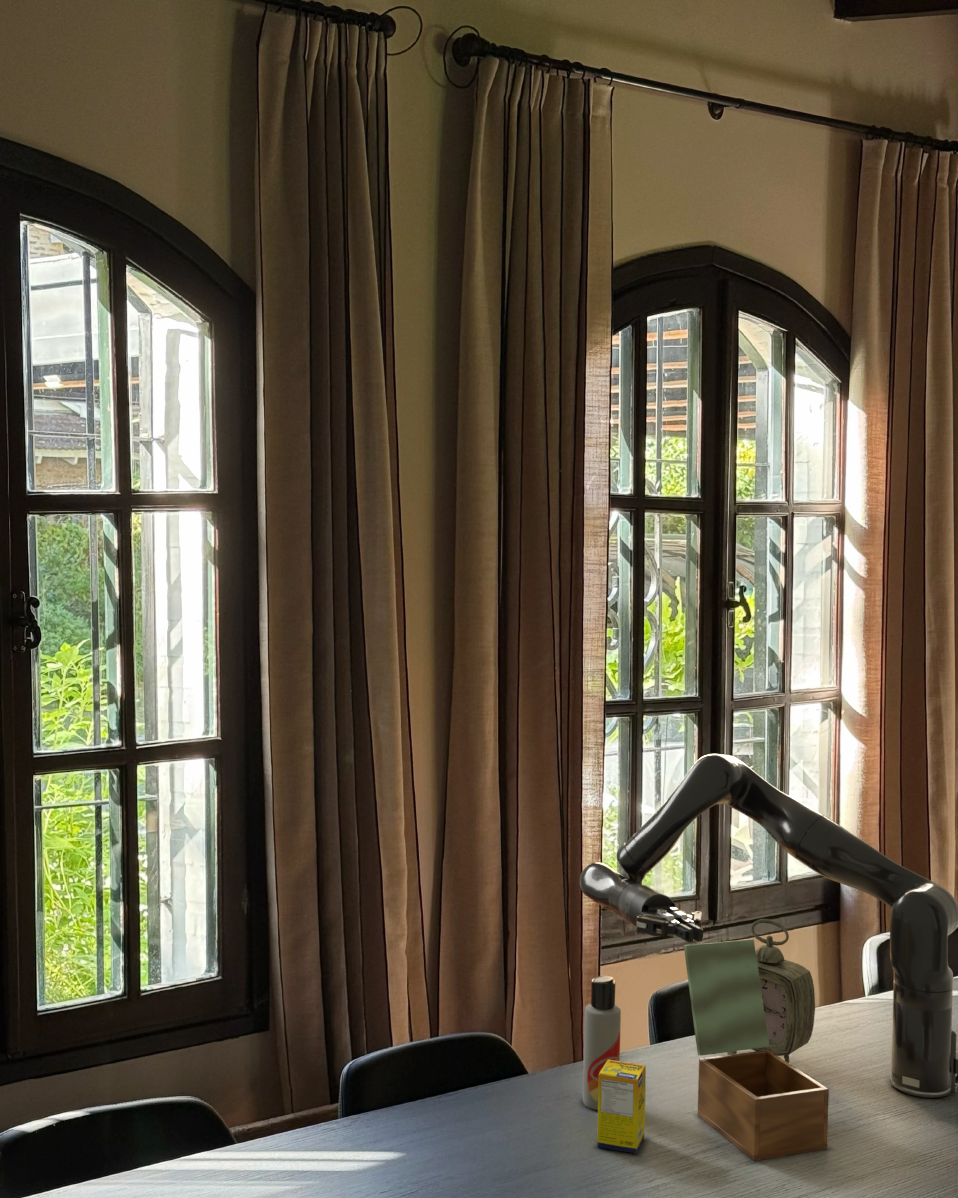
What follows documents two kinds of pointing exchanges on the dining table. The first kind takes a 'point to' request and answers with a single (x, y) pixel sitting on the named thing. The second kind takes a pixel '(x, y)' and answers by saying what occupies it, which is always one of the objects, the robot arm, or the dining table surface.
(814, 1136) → the box
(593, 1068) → the lotion bottle
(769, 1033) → the tabletop clock
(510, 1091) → the dining table surface
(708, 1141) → the dining table surface
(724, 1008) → the box lid
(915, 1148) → the dining table surface
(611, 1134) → the supplement box
